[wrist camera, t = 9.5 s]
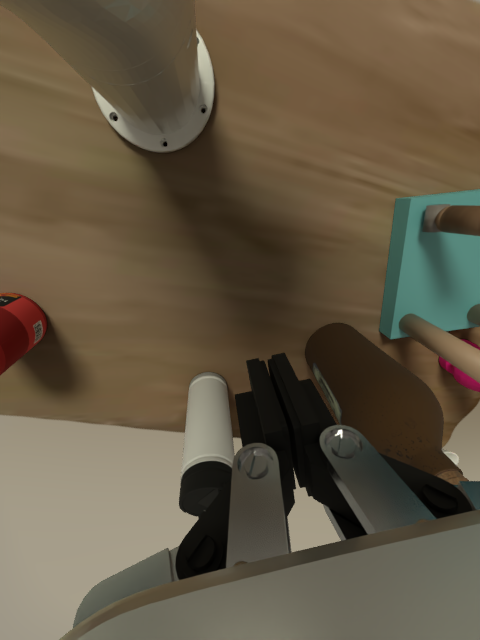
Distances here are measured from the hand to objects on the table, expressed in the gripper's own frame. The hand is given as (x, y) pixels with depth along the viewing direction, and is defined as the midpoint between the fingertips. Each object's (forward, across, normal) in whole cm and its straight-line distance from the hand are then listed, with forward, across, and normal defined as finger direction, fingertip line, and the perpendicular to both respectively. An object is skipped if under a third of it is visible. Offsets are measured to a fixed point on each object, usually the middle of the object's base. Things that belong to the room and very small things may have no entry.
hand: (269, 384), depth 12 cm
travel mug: (+28, +7, +21) cm, 36 cm away
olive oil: (+28, -14, +18) cm, 37 cm away
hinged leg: (+25, -26, -1) cm, 36 cm away
